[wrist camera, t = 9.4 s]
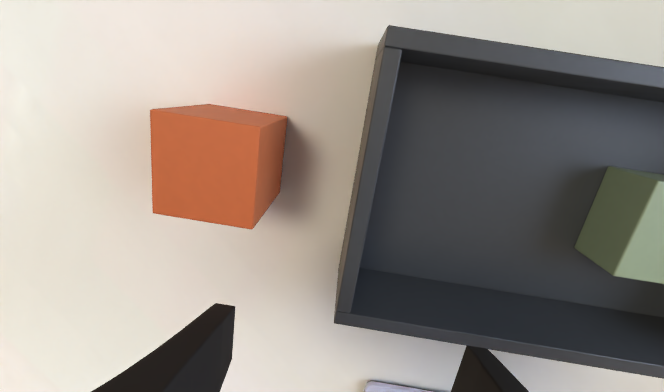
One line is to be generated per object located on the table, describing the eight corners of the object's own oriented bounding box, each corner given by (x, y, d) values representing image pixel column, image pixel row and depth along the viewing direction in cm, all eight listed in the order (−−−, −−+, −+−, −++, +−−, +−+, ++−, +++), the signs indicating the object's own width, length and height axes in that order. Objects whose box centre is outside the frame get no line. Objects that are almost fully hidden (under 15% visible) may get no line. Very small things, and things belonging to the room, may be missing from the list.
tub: (666, 323, 20) (762, 395, 15) (338, 269, 20) (333, 323, 16) (788, 107, 16) (969, 113, 11) (378, 43, 16) (388, 24, 12)
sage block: (658, 261, 18) (713, 292, 16) (573, 248, 19) (612, 276, 16) (700, 180, 17) (770, 198, 14) (607, 165, 17) (658, 180, 14)
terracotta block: (279, 192, 19) (252, 230, 14) (205, 180, 19) (152, 213, 14) (287, 116, 18) (261, 126, 13) (208, 103, 18) (149, 108, 13)
